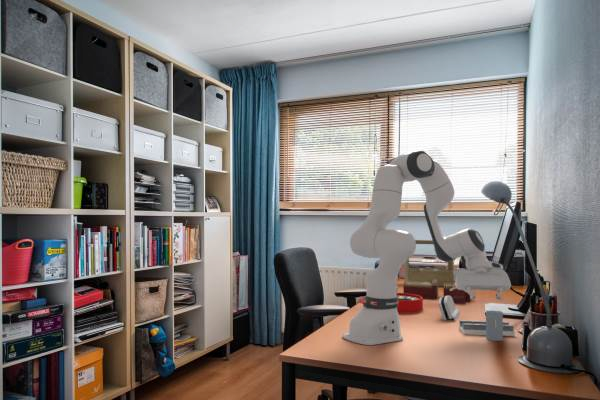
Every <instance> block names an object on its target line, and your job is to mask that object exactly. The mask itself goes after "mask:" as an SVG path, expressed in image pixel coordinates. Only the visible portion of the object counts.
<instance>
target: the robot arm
mask: <svg viewBox="0 0 600 400" xmlns="http://www.w3.org/2000/svg"><path fill="white" fill-rule="evenodd" d="M448 175H449V174H447V172H446V171H445V169H444V168H443V166H442V165H441V164H440V163H439V162H438V161H437V160H436V159H433V158H432V156H431V155H430V154H429V153H428V152H426V151H425V150H413V151H411V152H407V153H406V152H405V153H402V154H400V155H398V156H396V157H393V158H392V159H390V160H389V161H388V162H387V163H386V164H385V165H382V166H380V167H379V168H378V169H377V170H376V175H375V178H374V181H373V185H372V187H373V188H372V192H371V193H372V195H371V203H370V208H369V212H368V215H367V216H366V219H365V220H364V222H363V224H362V225H361V226H360V227H358V229H356V230H355V231H353V233H352V234H351V236H350V239H349V246H350V250H351V251H352V253H354V254H355V255H357V256H361V257H363V258H368V259H379V263H378V266H377V267H376V268H374V269H372V270H370V271H369V273H368V274H367V275H366V295H365V297H364V298H363V297H359V298H358V303H359V304H362V305H363V306H362V308H360V309H359V311H358V312H357V313H356V314H355V315H354V316H353V317H352V318H351V319H350V322H349V328H348V331H347V332H344V333H343V334H342V338H344V340H347V341H349V342H353V343H356V344H361V345H365V346H373V345H374V346H375V345H381V344H388V343H393V342H400V341H403V340H404V337H403V335H402V332H401V320H400V313H398V311H397V307H398V297H397V293H398V290H397V287H398V278H399V274H400V270H401V268H402V266H403V265H405V261H407V260H408V259H409V260H410V259H411V257H413V255H414V254H415V251H416V249H417V248H416V247H417V244H416V242H415V240H416V239H415V237H414V235H413V234H412V233H411V232H409V231H405V230H400V229H387V226H388V225H389V224H390V223H391V222H392V221H394V220H396V219H398V217H399V216H400V214H401V207H402V197H403V185H404V183H407V182H414V181H417V182H418V183H419V184H420V186H421V189H422V191H423V193H424V195H425V201H426V202H425V203H424V205H423V212H424V216H425V221H426V225H427V227H428V229H429V233H430V236H431V237H430V238H431V239H432V240H433V244H432V245H433V247H434V248H433V249H434V252H435V255H436V257H437V259H439V260H440V261H441V262H442V261H443V262H444V263H448V262H450V261H452V260H453V261H454V260H456V259H458V258H461V257H463V259H464V260H465V267H466V268H455V269H454V271H453V275H454V286H455V285H456V288H457V289H458V290H466V292H467V293H468V294H469V295H470V300H476V298H477V295H476V292H473V291H490V292H493V291H494V292H495V291H497V293H496V295H495V298H496V300H502V298H503V296H502V292H508V291H509V290H510V289H511V286H512V283H511V280H510V276H509V275H508V273H507V272H506V271H505V270H504V266H503V264H502V263H498V262H494V261H490V260H489V259H488V258H487V251H486V249H485V247H486V246H485V243H484V240H483V237H482V236H481V234H480V233H479V232H478V231H477V230H475V229H473V228H471V227H470V228H469V227H468V228H464V229H462V230H460V231H457V232H455V233H453V234H450V235H446V236H444V235H443V233H442V230H441V227H440V223H439V221H438V217H439V215H440V214H441V212H442V211H444V210H445V209H446V208H447V207H448V205H449V206H450V204H451V203H452V201H453V199H454V197H455V189H454V186H453V183H452V181H451V179H450V177H449V176H448Z"/></svg>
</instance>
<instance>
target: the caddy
mask: <svg viewBox="0 0 600 400" xmlns="http://www.w3.org/2000/svg"><path fill="white" fill-rule="evenodd" d="M415 242H416V245H434V244H433V240H427V239H415ZM454 270H455V268H454V260H452V261H450V262H447V268H424V267H423V268H418V267H417V268H416V267H415V268H414V267H410V258H409V259H408V260H407V261H405V263H404V277H403V278H404V279H403V280H404V281H406V283H407V282H408V283H410V284H413V283H414V284H416V283H417V281H418V284H419V282H420V284H421V283H423V282H428V283H430V284H432V280H433V281H434V280H436V282H437V281H438V287H444V283H445V285H446V283H447V286H448V284H449V286H453V285H454V286H455V277H454V275H453V271H454ZM404 281H403V282H404ZM410 281H411V282H410ZM415 282H416V283H415Z"/></svg>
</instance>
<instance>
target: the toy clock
mask: <svg viewBox="0 0 600 400" xmlns="http://www.w3.org/2000/svg"><path fill="white" fill-rule="evenodd" d="M397 297H398V307H397V311H398V314H416V313H419V312H420V313H421V312H422V311H423V310H424V307H423V305H424V304H423V303H424V301H423V299H424V298H423V297H421V296H419V295H415V294H408V293H404V292H397Z"/></svg>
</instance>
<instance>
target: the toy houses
mask: <svg viewBox="0 0 600 400" xmlns="http://www.w3.org/2000/svg"><path fill="white" fill-rule="evenodd" d="M410 282H411V281H410ZM415 283H416V282H415ZM398 290H400V287H398V286H397V291H398ZM403 293H408V294H415V295H419V296H421V297H423V299H432V300H433V299H434V300H437V299H438V298H439V286H438V281H437V282H436V280H434V281H433V280H432V284H430V283H428V282H423V283H421V284H420V282H419V284H418V281H417V283H416V284H414V283H413V284H410V283H408V282H407V283H406V281H403ZM443 296H444V297H445V296H451V297H452V299H453V302H454V304H463V305H464V304H466V303H465V302H470V301H471V296H470V295H469V294H468V293H467V292H466V290H458V289H457V288H456V285H455V284H454V285H453V286H449V284H448V286H447V283H446V285H445V283H444V286H443Z"/></svg>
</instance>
